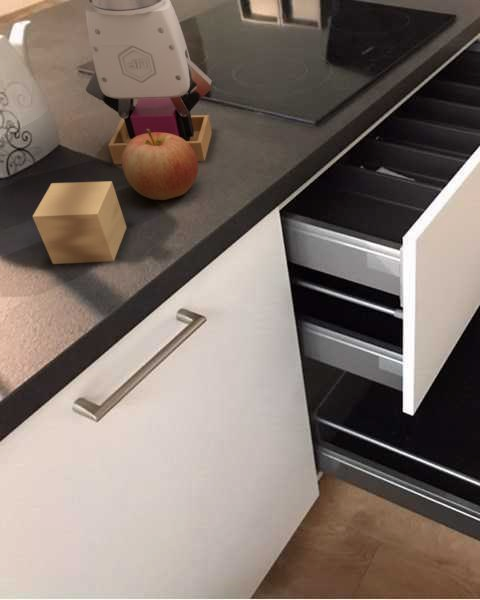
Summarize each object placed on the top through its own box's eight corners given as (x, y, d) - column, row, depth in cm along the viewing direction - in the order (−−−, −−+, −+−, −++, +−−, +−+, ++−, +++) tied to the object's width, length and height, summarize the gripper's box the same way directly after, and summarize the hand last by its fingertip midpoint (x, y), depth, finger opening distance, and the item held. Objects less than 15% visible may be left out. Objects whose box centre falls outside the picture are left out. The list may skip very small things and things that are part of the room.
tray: (114, 165, 81) (107, 145, 79) (127, 137, 86) (121, 117, 85) (205, 162, 82) (200, 142, 80) (212, 134, 87) (208, 114, 86)
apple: (116, 196, 76) (96, 133, 70) (170, 168, 81) (155, 107, 75) (162, 220, 72) (144, 155, 67) (216, 189, 77) (203, 126, 72)
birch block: (53, 265, 66) (32, 216, 62) (70, 231, 71) (51, 183, 67) (114, 263, 67) (97, 213, 63) (127, 228, 71) (112, 180, 67)
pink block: (140, 154, 82) (130, 116, 78) (148, 135, 85) (138, 98, 82) (181, 153, 82) (172, 115, 79) (187, 134, 86) (179, 97, 82)
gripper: (33, 3, 68) (87, 159, 80) (201, 0, 69) (228, 154, 81) (55, -19, 74) (102, 130, 86) (209, -21, 75) (234, 126, 87)
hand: (163, 140), depth 83 cm, fingers closed on pink block, 5 cm apart
